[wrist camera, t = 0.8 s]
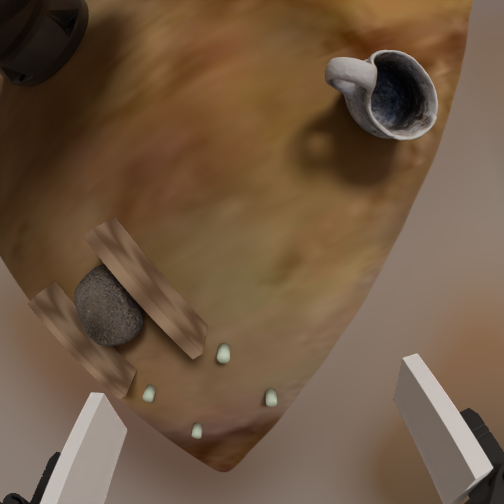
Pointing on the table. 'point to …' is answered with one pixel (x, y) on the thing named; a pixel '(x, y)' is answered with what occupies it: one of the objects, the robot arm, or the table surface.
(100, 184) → the table surface
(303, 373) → the table surface
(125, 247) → the channel
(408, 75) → the mug
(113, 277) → the stone
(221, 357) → the zone posts
